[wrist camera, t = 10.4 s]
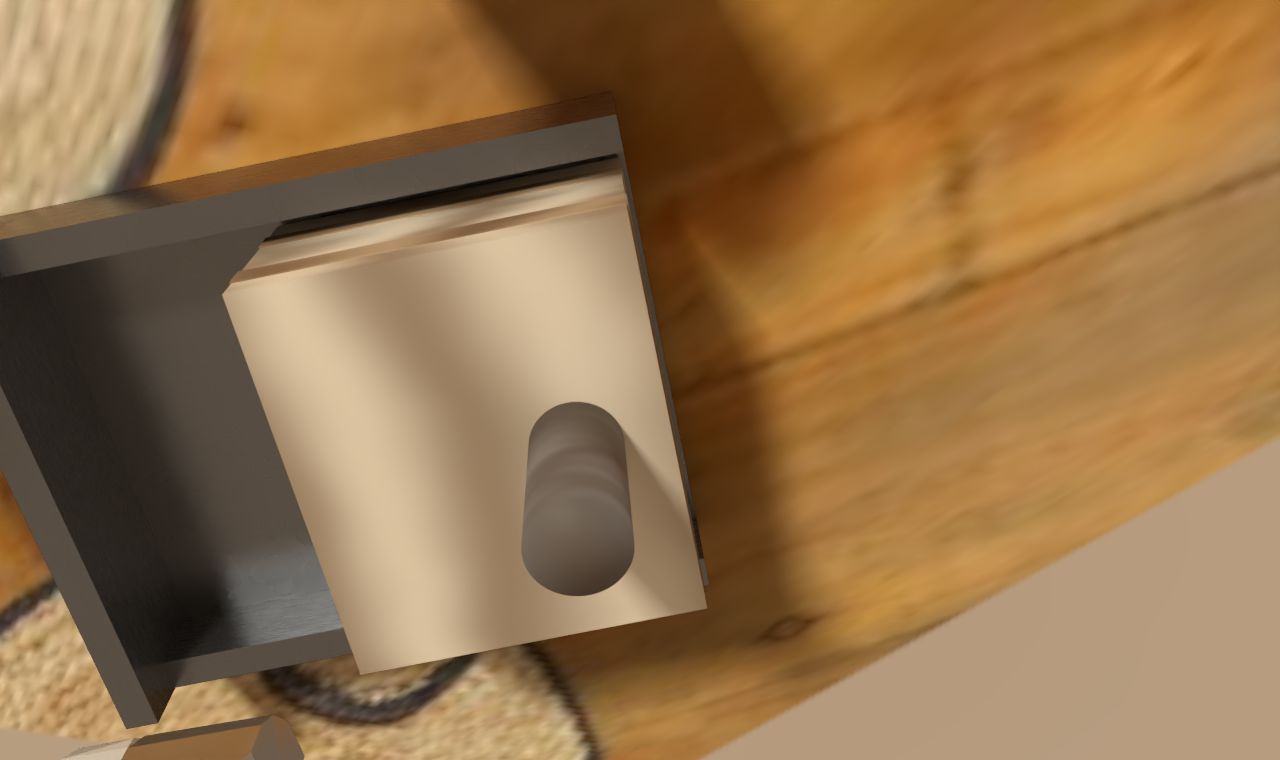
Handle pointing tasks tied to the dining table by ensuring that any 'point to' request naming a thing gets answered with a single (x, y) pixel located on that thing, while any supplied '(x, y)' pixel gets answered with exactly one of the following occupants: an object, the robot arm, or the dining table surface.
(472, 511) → the beige knobbed block
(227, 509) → the bay
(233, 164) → the dining table surface
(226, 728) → the robot arm
